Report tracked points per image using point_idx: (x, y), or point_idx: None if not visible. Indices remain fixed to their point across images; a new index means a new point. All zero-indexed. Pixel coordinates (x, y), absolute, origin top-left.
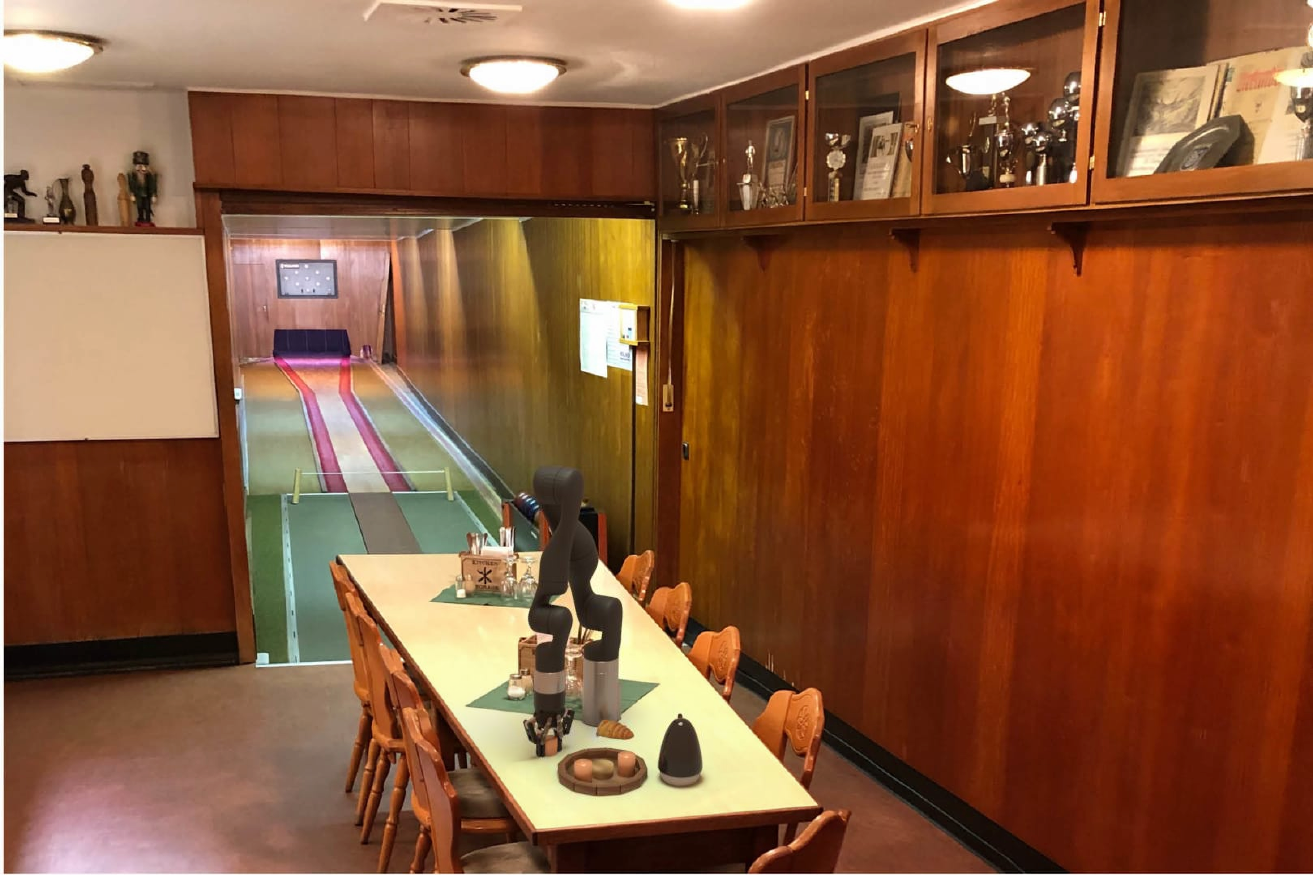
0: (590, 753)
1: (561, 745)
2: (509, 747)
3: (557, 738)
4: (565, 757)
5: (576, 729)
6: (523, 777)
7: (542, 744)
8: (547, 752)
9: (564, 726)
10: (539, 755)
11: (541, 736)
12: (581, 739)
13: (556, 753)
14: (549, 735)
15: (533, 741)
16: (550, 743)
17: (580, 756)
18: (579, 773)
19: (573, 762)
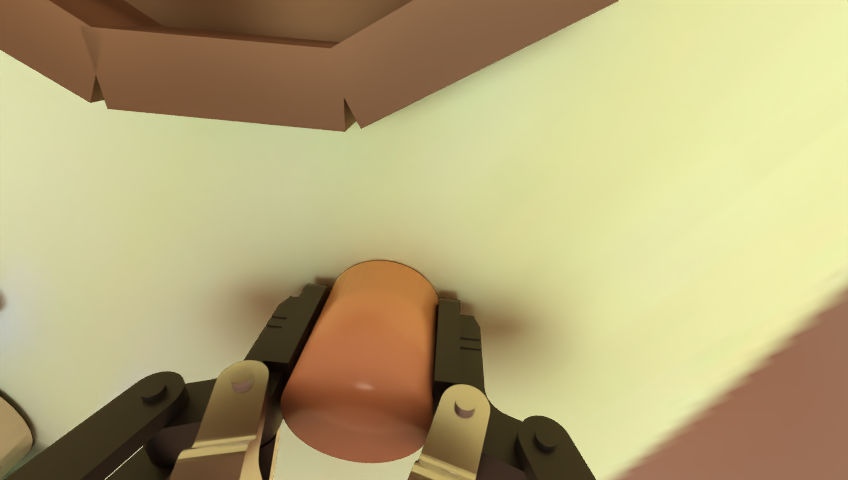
0: (90, 6)
1: (273, 322)
2: None
3: (293, 378)
4: (418, 84)
5: (91, 409)
6: (763, 198)
7: (466, 387)
8: (422, 315)
9: (140, 466)
10: (476, 328)
11: (475, 473)
12: (101, 331)
13: (351, 282)
14: (321, 442)
15: (580, 456)
16: (393, 361)
17: (228, 36)
18: None
19: (339, 42)
